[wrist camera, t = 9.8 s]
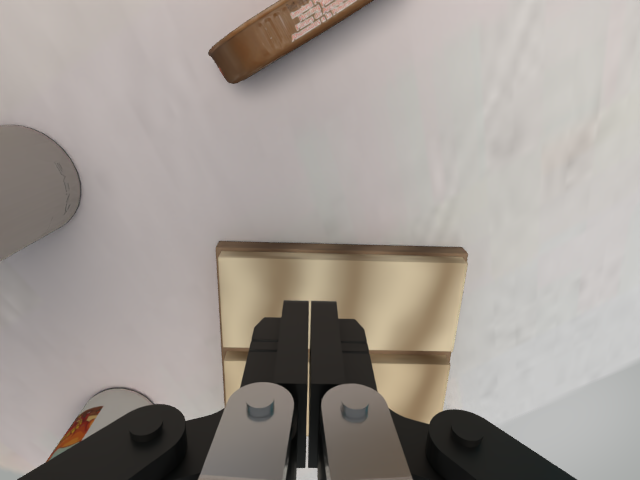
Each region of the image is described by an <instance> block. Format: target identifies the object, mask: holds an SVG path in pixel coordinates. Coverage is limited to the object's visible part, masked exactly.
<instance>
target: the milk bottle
mask: <svg viewBox="0 0 640 480" xmlns="http://www.w3.org/2000/svg"><path fill="white" fill-rule="evenodd" d="M147 405H153V404H152V403H151V402H150V401H149V400H148V399H147V398H145V397H144V396H143V395H141V394H139V393H137V392H134V391H131V390H127V389H109V390H106V391H103V392H101V393H99V394H97V395H95V396H94V397H93V398H91V399H90V400H89V402H88V403H87V404H86V406H85V407H84V408H83V410H82V411H81V412H80V414H79V415H78V417H77V418H76V419H75V421H74V422H73V424H72V425H71V427H70V428H69V429H68V431H67V432H66V434H65V435H64V437H63V438H62V439H61V441H60V442H59V444H58V445H57V447H56V448H55V449H54V451H53V452H52V454H51V455H50V457H49V458H48V460H47V461H49V460H51V459H52V458H54V457H56V456H57V455H59V454H61V453H62V452H64V451H66V450H67V449H69V448H71V447H72V446H74V445H75V444H77V443H79V442H80V441H82V440H84V439H85V438H87V437H89V436H90V435H92V434H94V433H95V432H97V431H99V430H100V429H102V428H104V427H105V426H107V425H109V424H110V423H112V422H114V421H115V420H117V419H119V418H120V417H122V416H124V415H125V414H127V413H129V412H131V411H132V410H135V409H137V408H140V407H143V406H147ZM47 461H46V462H47Z"/></svg>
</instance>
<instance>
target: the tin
mask: <svg viewBox="0 0 640 480" xmlns="http://www.w3.org/2000/svg"><path fill="white" fill-rule="evenodd" d="M372 1H374V0H279V1H278V2H276V3H275V4H273V5H272V6H270V7H268V8H267V9H265V10H264V11H262V12H260V13H259V14H257V15H256V16H254V17H252V18H251V19H249V20H248V21H246V22H245V23H243V24H242V25H241V26H239V27H238V28H236V29H235V30H234V31H232V32H230V33H229V34H228V35H227V36H225V37H224V38H223V39H221V40H220V41H219V42H217V43H216V44H215V45H214V46H213V47H212V48H211V49H210V50H209V52H208V54H209V56H211V57H212V58H213V60H214V61H215V63H216V64H217V66H218V68H219V69H220V71H221V73H222V75H223V76H224V78H225V79H226V80H227V82H229V83H233V84H234V83H238V82H240V81H242V80H244V79H246V78H248V77H250V76H252V75H253V74H255V73H256V72H258V71H260V70H261V69H263V68H265V67H266V66H268V65H270V64H271V63H273V62H274V61H276V60H278V59H279V58H281V57H283V56H284V55H286V54H288V53H289V52H291V51H293V50H294V49H296V48H298V47H300V46H301V45H303V44H305V43H306V42H308V41H310V40H311V39H313V38H315V37H316V36H318V35H320V34H321V33H323V32H325V31H326V30H328V29H329V28H331V27H333V26H334V25H336V24H337V23H339V22H341V21H342V20H344V19H345V18H347V17H349V16H350V15H352V14H353V13H355V12H356V11H358V10H359V9H361V8H362V7H364V6H366V5H367V4H369V3H370V2H372Z"/></svg>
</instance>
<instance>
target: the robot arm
mask: <svg viewBox="0 0 640 480" xmlns="http://www.w3.org/2000/svg"><path fill="white" fill-rule="evenodd" d="M79 199H80V182H79V179H78V175H77V172H76V170H75V168H74V166H73V164H72V162H71V160H70V159H69V157H68V156H67V155H66V153H65V152H64V151H63V149H62V148H60V147H59V146H58V145H57V144H56V143H55V142H54V141H53V140H51V139H50V138H48V137H47V136H45V135H44V134H42V133H40V132H38V131H35V130H33V129H31V128H27V127H23V126H18V125H2V126H0V261H2V260H4V259H6V258H7V257H9V256H11V255H13V254H14V253H16V252H18V251H20V250H21V249H23V248H25V247H27V246H28V245H30V244H32V243H34V242H36V241H37V240H39V239H41V238H43V237H44V236H46V235H48V234H49V233H51V232H53V231H55V230H56V229H58V228H60V227H61V226H63V225H64V224H65V223H67V222H68V221H69V220H70V219H71V217H72V216H73V215H74V214H75V212H76V209H77V207H78V205H79ZM308 331H309V301H300V300H284V301H283V309H282V316H281V318H280V317H264V318H263V319H262V320H261V321H260V322H259V323H258V324H257V325H256V326H255V327H254V331H253V335H252V339H251V343H250V348H249V352H248V356H247V360H246V364H245V369H244V373H243V377H242V381H241V386H240V388H239V389H238V390H237V391H235V392H234V393H233V394H232V395H231V396H230V398H229V399H228V401H227V404H226V406H225V408H224V409H222V410H221V411H219V412H217V413H214V414H212V415H208V416H205V417H201V418H197V419H192V420H188V421H185V418H184V416H183V414H182V413H181V412H180V411H179V410H178V409H176V408H175V407H172V406H169V405H164V404H154V405H147V406H143V407H140V408H137V409H135V410H132V411H131V412H129V413H127V414H125V415H124V416H122V417H120V418H119V419H117V420H115V421H114V422H112V423H110V424H109V425H107V426H105V427H104V428H102V429H100V430H99V431H97V432H95V433H94V434H92V435H90V436H89V437H87V438H85V439H84V440H82V441H80V442H79V443H77V444H75V445H74V446H72V447H71V448H69V449H67V450H66V451H64V452H62V453H61V454H59V455H57V456H56V457H54V458H52V459H51V460H49V461H47V462H46V463H44V464H42V465H41V466H39V467H37V468H36V469H34V470H32V471H31V472H29V473H27V474H26V475H24V476H22V477H21V478H19V479H17V480H296V469H297V468H305V460H306V426H307V392H308ZM308 468H317V469H318V480H577V479H575V478H574V477H572V476H570V475H569V474H568V473H566V472H565V471H563V470H562V469H560V468H558V467H557V466H555V465H554V464H552V463H551V462H549V461H548V460H546V459H545V458H543V457H542V456H540V455H539V454H537V453H536V452H534V451H532V450H531V449H529V448H528V447H527V446H525V445H523V444H522V443H520V442H519V441H517V440H516V439H514V438H513V437H511V436H510V435H508V434H507V433H505V432H504V431H502V430H501V429H499V428H498V427H496V426H495V425H493V424H492V423H490V422H488V421H487V420H485V419H484V418H482V417H480V416H478V415H476V414H474V413H471V412H468V411H463V410H445V411H442V412H439V413H438V414H436V415H435V416H434V417H433V418H432V419H431V421H430V424H427V423H423V422H420V421H416V420H412V419H409V418H406V417H403V416H401V415H399V414H397V413H395V412H394V411H392V410H391V409H390V408H388V405H387V403H386V401H385V399H384V398H383V397H382V396H381V395H380V394H379V393H378V391H377V386H376V381H375V377H374V372H373V367H372V363H371V358H370V354H369V348H368V344H367V339H366V334H365V330H364V328H363V327H362V326H361V325H360V324H359V323H358V322H357V321H356V320H355V319H338V310H337V302H336V301H311V320H310V354H309V442H308Z"/></svg>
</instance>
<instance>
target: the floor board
mask: <svg viewBox="0 0 640 480" xmlns="http://www.w3.org/2000/svg"><path fill="white" fill-rule="evenodd" d="M221 251H253V252H293V253H334V254H374V255H414V256H454V257H463V259H464V260H465V261H466V262H467V257H468V253H467V252H466V251H465V250H464V249H463V248H462V247H427V246H388V245H349V244H310V243H270V242H231V241H219V243H218V244H217V246H216V260H217V278H218V295H219V313H220V330H221V348H222V366H223V383H224V401H225V406H226V404H227V401H228V399H229V398H230V396H231V395H232V394H233V393H234V392H235V391H237V390H238V389H239V388H240V386H241V381H242V377H243V373H244V369H245V364H246V360H247V356H248V352H249V348H237V347H223V338H222V320H221V301H220V282H219V264H218V257H219V255H220V253H221ZM309 354H310V349H308V392H307V426H306V436H309ZM369 354H370V358H371V363H372V367H373V372H374V377H375V381H376V386H377V391H378V393H379V394H380V395H381V396H382V397H383V398H384V399H385V401H386V403H387V405H388V408H390V409H391V410H392V411H394V412H395V413H397V414H399V415H401V416H403V417H406V418H409V419H412V420H416V421H420V422H423V423H427V424H430V421H431V419H432V418H433V417H434V416H435V415H436V414H438V413H439V412H442V411H443V405H444V399H445V393H446V387H447V381H448V376H449V370H450V363H449V362H450V356H451V351H401V350H369Z"/></svg>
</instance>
